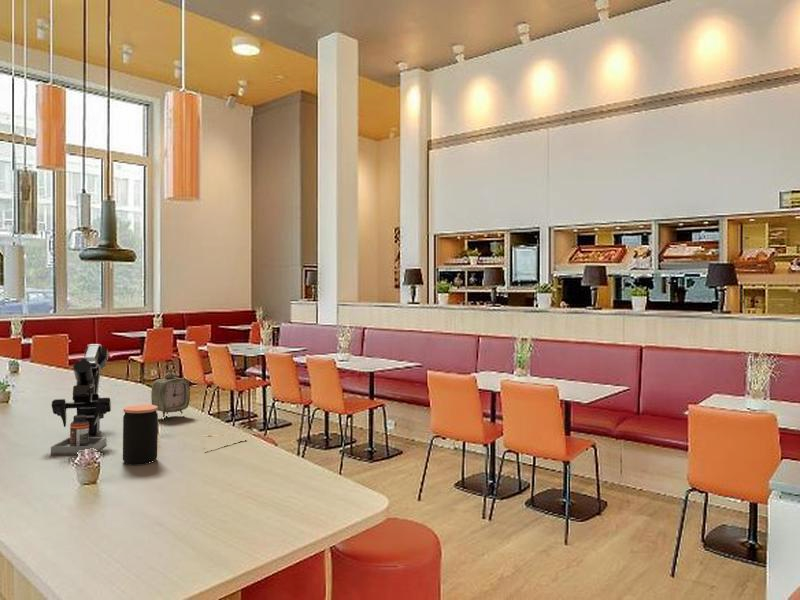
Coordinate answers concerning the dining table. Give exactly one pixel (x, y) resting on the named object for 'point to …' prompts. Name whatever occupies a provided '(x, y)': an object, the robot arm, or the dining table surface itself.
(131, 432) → the coffee jar
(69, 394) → the dining table surface
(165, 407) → the tabletop clock
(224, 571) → the dining table surface
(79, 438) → the supplement bottle
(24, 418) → the dining table surface
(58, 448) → the tray
